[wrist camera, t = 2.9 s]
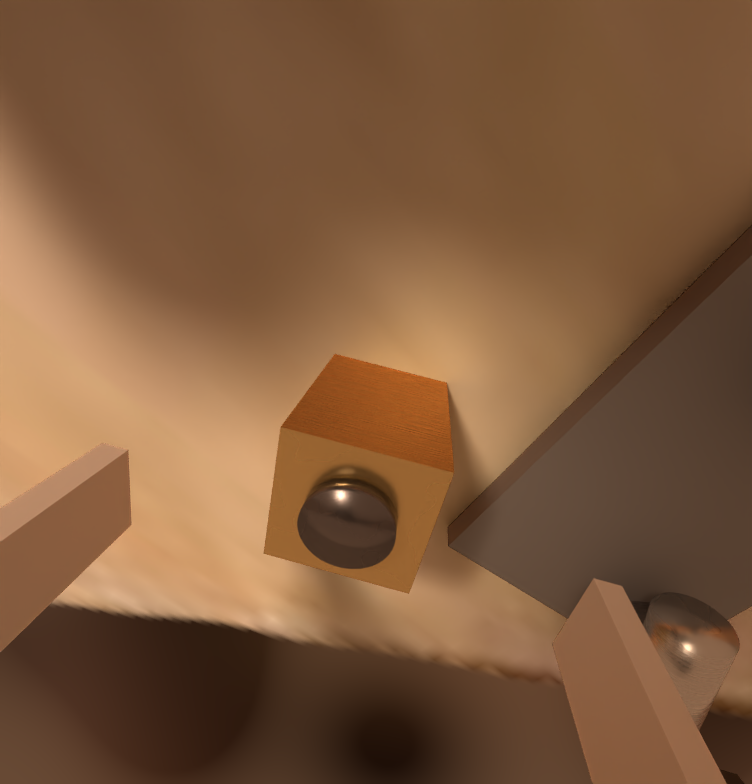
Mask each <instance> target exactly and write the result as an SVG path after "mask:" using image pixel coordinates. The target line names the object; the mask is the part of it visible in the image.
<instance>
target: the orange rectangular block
mask: <svg viewBox="0 0 752 784" xmlns="http://www.w3.org/2000/svg"><path fill="white" fill-rule="evenodd" d="M453 475H454V465H453V452H452V440H451V428H450V416H449V404H448V391H447V383H446V382H442V381H438V380H434V379H430V378H426V377H422V376H418V375H415V374H411V373H407V372H403V371H399V370H395V369H391V368H387V367H384V366H380V365H376V364H372V363H368V362H364V361H360V360H356V359H353V358H349V357H345V356H341V355H337V354H334V356H333V357H332V358H331V360H330V361H329V363H328V364H327V365H326V367H325V368H324V369H323V371H322V372H321V373H320V375H319V376H318V377H317V379H316V380H315V381H314V383H313V384H312V385H311V387H310V388H309V390H308V391H307V392H306V394H305V395H304V396H303V398H302V399H301V400H300V402H299V403H298V404H297V406H296V407H295V408H294V410H293V411H292V412H291V414H290V415H289V416H288V418H287V419H286V421H285V422H284V423H283V425H282V426H281V429H280V436H279V443H278V451H277V458H276V466H275V473H274V481H273V488H272V495H271V503H270V510H269V518H268V525H267V533H266V540H265V547H264V554H267V555H271V556H274V557H278V558H282V559H285V560H289V561H293V562H296V563H300V564H303V565H307V566H311V567H314V568H318V569H321V570H325V571H329V572H332V573H336V574H340V575H343V576H347V577H350V578H354V579H358V580H361V581H365V582H369V583H372V584H376V585H379V586H383V587H387V588H390V589H394V590H397V591H401V592H405V593H408V594H409V592H410V589H411V587H412V584H413V581H414V579H415V576H416V573H417V571H418V568H419V565H420V563H421V560H422V557H423V555H424V552H425V549H426V547H427V544H428V541H429V539H430V536H431V533H432V531H433V528H434V525H435V523H436V520H437V517H438V515H439V512H440V509H441V507H442V504H443V501H444V499H445V496H446V493H447V491H448V488H449V485H450V483H451V480H452V477H453Z"/></svg>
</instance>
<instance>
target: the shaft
mask: <svg viewBox="0 0 752 784" xmlns="http://www.w3.org/2000/svg"><path fill="white" fill-rule="evenodd" d="M630 602H631V604H632V606H633V608H634V609H635V611H636V613H637V615H638V617H639V619H640V621H641V623H642V625H643V626H644V628H645V630H646V632H647V634H648V636H649V638H650V640H651V642H652V643H653V645H654V647H655V649H656V651H657V653H658V655H659V657H660V659H661V660H662V662H663V664H664V666H665V668H666V670H667V672H668V674H669V676H670V677H671V679H672V681H673V683H674V685H675V687H676V689H677V691H678V693H679V694H680V696H681V698H682V700H683V702H684V704H685V706H686V708H687V710H688V711H689V713H690V715H691V717H692V719H693V721H694V723H695V725H696V727H697V729H698V730H699V729H700V727H701V725H702V723H703V721H704V719H705V717H706V715H707V713H708V711H709V709H710V707H711V705H712V703H713V701H714V699H715V697H716V695H717V693H718V691H719V689H720V687H721V685H722V683H723V681H724V679H725V677H726V675H727V673H728V671H729V669H730V667H731V665H732V663H733V661H734V659H735V657H736V655H737V653H738V650H739V645H740V643H739V638H738V636H737V634H736V632H735V630H734V628H733V627H732V626H731V624H730V623H729V622H728V621H727V620H726V619H725V618H724V617H723V616H722V615H721V614H720V613H719V612H717V611H716V610H715V609H713V608H712V607H710V606H709V605H707V604H705V603H704V602H702V601H700V600H698V599H696V598H693V597H691V596H688V595H684V594H680V593H674V592H664V593H660V594H658V595H656V596H654V597H653V598H652V600H651V602H639V601H630Z"/></svg>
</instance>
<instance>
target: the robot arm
mask: <svg viewBox="0 0 752 784" xmlns="http://www.w3.org/2000/svg"><path fill="white" fill-rule="evenodd" d="M130 525H131V504H130V480H129V456H128V450H127V449H123V448H119V447H116V446H112V445H109V444H105V443H101V444H100V445H98V446H97V447H95V448H94V449H92V450H90V451H89V452H87V453H86V454H84V455H83V456H81V457H79V458H78V459H76V460H75V461H73V462H72V463H70V464H69V465H67V466H65V467H64V468H62V469H61V470H59V471H58V472H56V473H55V474H53V475H51V476H50V477H48V478H47V479H45V480H44V481H42V482H40V483H39V484H37V485H36V486H34V487H33V488H31V489H30V490H28V491H26V492H25V493H23V494H22V495H20V496H19V497H17V498H15V499H14V500H12V501H11V502H9V503H8V504H6V505H5V506H3V507H1V508H0V652H1V651H2V650H3V649H4V648H5V647H6V646H7V645H8V644H9V643H10V642H11V641H12V640H13V639H14V638H15V637H16V636H17V635H18V634H19V633H20V632H21V631H22V630H24V629H25V628H26V627H27V626H28V625H29V624H30V623H31V622H32V621H33V620H34V619H35V618H36V617H37V616H38V615H39V614H40V613H41V612H42V611H43V610H44V609H45V608H46V607H47V606H48V605H49V604H50V603H51V602H52V601H53V600H54V599H55V598H56V597H57V596H58V595H60V594H61V593H62V592H63V591H64V590H65V589H66V588H67V587H68V586H69V585H70V584H71V583H72V582H73V581H74V580H75V579H76V578H77V577H78V576H79V575H80V574H81V573H82V572H83V571H84V570H85V569H86V568H87V567H88V566H89V565H90V564H91V563H92V562H93V561H94V560H96V559H97V558H98V557H99V556H100V555H101V554H102V553H103V552H104V551H105V550H106V549H107V548H108V547H109V546H110V545H111V544H112V543H113V542H114V541H115V540H116V539H117V538H118V537H119V536H120V535H121V534H122V533H123V532H124V531H125V530H126V529H127V528H128V527H129V526H130ZM552 645H553V648H554V652H555V655H556V659H557V662H558V666H559V669H560V673H561V676H562V680H563V683H564V687H565V690H566V694H567V697H568V701H569V704H570V708H571V711H572V715H573V718H574V721H575V725H576V728H577V732H578V736H579V739H580V742H581V746H582V750H583V753H584V756H585V760H586V763H587V767H588V770H589V774H590V777H591V781H592V784H744V783H743V781H742V780H741V779H740V778H739V776H738V775H737V774H734V773H730V772H727V771H724V770H720V769H719V768H718V766H717V765H716V763H715V761H714V759H713V757H712V755H711V753H710V751H709V749H708V747H707V746H706V744H705V742H704V740H703V738H702V736H701V734H700V732H699V730H698V729H697V727H696V725H695V723H694V721H693V719H692V717H691V715H690V713H689V711H688V710H687V708H686V706H685V704H684V702H683V700H682V698H681V696H680V694H679V693H678V691H677V689H676V687H675V685H674V683H673V681H672V679H671V677H670V676H669V674H668V672H667V670H666V668H665V666H664V664H663V662H662V660H661V659H660V657H659V655H658V653H657V651H656V649H655V647H654V645H653V643H652V642H651V640H650V638H649V636H648V634H647V632H646V630H645V628H644V626H643V625H642V623H641V621H640V619H639V617H638V615H637V613H636V611H635V609H634V608H633V606H632V604H631V602H630V600H629V598H628V596H627V594H626V592H625V591H624V589H623V587H622V586H620V585H616V584H613V583H609V582H606V581H602V580H598V579H595V578H593V580H592V582H591V583H590V585H589V586H588V588H587V589H586V591H585V593H584V594H583V596H582V597H581V599H580V601H579V602H578V604H577V605H576V607H575V609H574V610H573V612H572V613H571V615H570V616H569V618H568V620H567V621H566V623H565V624H564V626H563V628H562V629H561V631H560V632H559V634H558V636H557V637H556V639H555V640H554V642H553V643H552Z"/></svg>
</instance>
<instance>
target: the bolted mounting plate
mask: <svg viewBox="0 0 752 784" xmlns="http://www.w3.org/2000/svg"><path fill="white" fill-rule="evenodd" d="M448 546H449V547H451V548H452V549H454V550H456V551H457V552H459V553H461V554H462V555H464V556H465V557H467V558H469V559H470V560H472V561H474V562H475V563H477V564H479V565H480V566H482V567H484V568H485V569H487V570H489V571H490V572H492V573H493V574H495V575H497V576H498V577H500V578H502V579H503V580H505V581H507V582H508V583H510V584H512V585H513V586H515V587H517V588H518V589H520V590H521V591H523V592H525V593H526V594H528V595H530V596H531V597H533V598H535V599H536V600H538V601H540V602H541V603H543V604H545V605H546V606H548V607H549V608H551V609H553V610H554V611H556V612H558V613H559V614H561V615H563V616H564V617H566V618H569V616H570V615H571V613H572V612H573V610H574V609H575V607H576V605H577V604H578V602H579V601H580V599H581V597H582V596H583V594H584V593H585V591H586V589H587V588H588V586H589V585H590V583H591V582H592V580H593V578H595V579H598V580H602V581H606V582H609V583H613V584H616V585H620V586H622V587H623V589H624V591H625V592H626V594H627V596H628V598H629V600H630V601H639V602H651V600H652V598H653V597H654V596H656V595H658V594H660V593H664V592H674V593H680V594H684V595H688V596H691V597H693V598H696V599H698V600H700V601H702V602H704V603H705V604H707V605H709V606H710V607H712V608H713V609H715V610H716V611H717V612H719V613H720V614H721V615H722V616H723V617H724V618H725V619H726V620H728V619H730V618H732V617H734V616H735V615H737V614H739V613H741V612H742V611H744V610H746V609H748V608H749V607H751V606H752V226H751V227H750V228H749V229H748V230H747V231H746V232H745V233H744V234H743V235H742V236H741V237H740V238H739V239H738V240H737V241H736V242H735V243H734V244H733V245H732V246H731V247H730V248H729V249H728V250H727V251H726V252H725V253H724V254H723V255H722V256H721V257H720V258H719V259H717V260H716V261H715V262H714V263H713V264H712V265H711V266H710V267H709V268H708V269H707V270H706V271H705V272H704V273H703V274H702V275H701V276H700V277H699V278H698V279H697V280H696V281H695V282H694V283H693V284H692V285H691V286H690V287H689V288H688V289H687V290H686V291H685V292H684V293H683V294H682V295H681V296H680V297H679V298H678V299H677V300H676V301H675V302H674V303H673V304H672V305H671V306H670V307H669V308H668V309H667V310H666V311H665V312H664V313H663V314H662V315H661V316H660V317H659V318H658V319H657V320H656V321H655V322H654V323H653V324H652V325H651V326H650V327H649V328H648V329H647V330H646V331H645V332H644V333H643V334H642V335H641V336H640V337H639V338H638V339H637V340H636V341H635V342H634V343H633V344H632V345H631V346H630V347H629V348H628V349H627V350H626V351H625V352H624V353H623V354H622V355H621V356H620V357H619V358H618V359H617V360H616V361H615V362H614V363H613V364H612V365H611V366H610V367H609V368H608V369H607V370H606V371H605V372H604V373H603V374H602V375H601V376H600V377H599V378H598V379H597V380H596V381H595V382H594V383H593V384H592V385H591V386H590V387H589V388H588V389H587V390H586V391H585V392H584V393H583V394H582V395H581V396H580V397H579V398H578V399H577V400H576V401H574V402H573V403H572V404H571V405H570V406H569V407H568V408H567V409H566V410H565V411H564V412H563V413H562V414H561V415H560V416H559V417H558V418H557V419H556V420H555V421H554V422H553V423H552V424H551V425H550V426H549V427H548V428H547V429H546V430H545V431H544V432H543V433H542V434H541V435H540V436H539V437H538V438H537V439H536V440H535V441H534V442H533V443H532V444H531V445H530V446H529V447H528V448H527V449H526V450H525V451H524V452H523V453H522V454H521V455H520V456H519V457H518V458H517V459H516V460H515V461H514V462H513V463H512V464H511V465H510V466H509V467H508V468H507V469H506V470H505V471H504V472H503V473H502V474H501V475H500V476H499V477H498V478H497V479H496V480H495V481H494V482H493V483H492V484H491V485H490V486H489V487H488V488H487V489H486V490H485V491H484V492H483V493H482V494H481V495H480V496H479V497H478V498H477V499H476V500H475V501H474V502H473V503H472V504H471V505H470V506H469V507H468V508H467V509H466V510H465V511H464V512H463V513H462V514H461V515H460V516H459V517H458V518H457V519H456V520H455V521H454V522H453V523H452V524H451V525H450V526H449V527H448Z"/></svg>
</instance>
